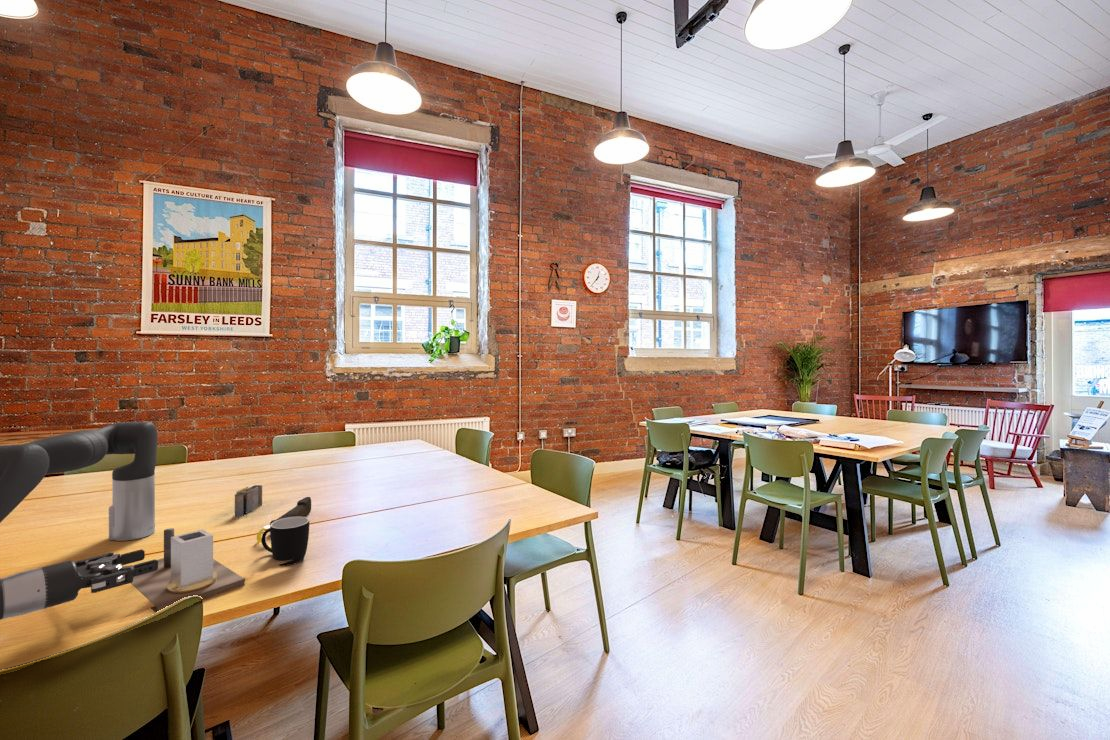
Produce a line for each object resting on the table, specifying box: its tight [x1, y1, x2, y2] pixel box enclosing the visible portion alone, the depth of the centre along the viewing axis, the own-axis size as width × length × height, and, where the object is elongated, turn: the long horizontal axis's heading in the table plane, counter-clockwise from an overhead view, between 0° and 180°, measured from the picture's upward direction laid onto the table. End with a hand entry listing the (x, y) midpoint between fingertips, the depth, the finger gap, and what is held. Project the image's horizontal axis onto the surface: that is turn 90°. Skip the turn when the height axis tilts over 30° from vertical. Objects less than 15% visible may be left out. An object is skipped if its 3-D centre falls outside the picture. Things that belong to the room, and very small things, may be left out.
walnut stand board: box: [122, 527, 246, 613], centre depth 111 cm, size 28×16×10 cm, turn 55°
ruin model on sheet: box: [234, 484, 263, 517], centre depth 161 cm, size 11×3×10 cm, turn 3°
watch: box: [256, 524, 271, 548], centre depth 131 cm, size 6×3×6 cm, turn 85°
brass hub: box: [167, 571, 217, 594], centre depth 107 cm, size 9×9×7 cm
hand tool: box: [269, 496, 312, 525], centre depth 151 cm, size 23×5×6 cm, turn 2°
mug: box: [261, 516, 310, 566], centre depth 123 cm, size 12×9×10 cm
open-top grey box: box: [171, 529, 214, 589], centre depth 106 cm, size 6×6×10 cm
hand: (150, 559), depth 100 cm, fingers open, 8 cm apart
